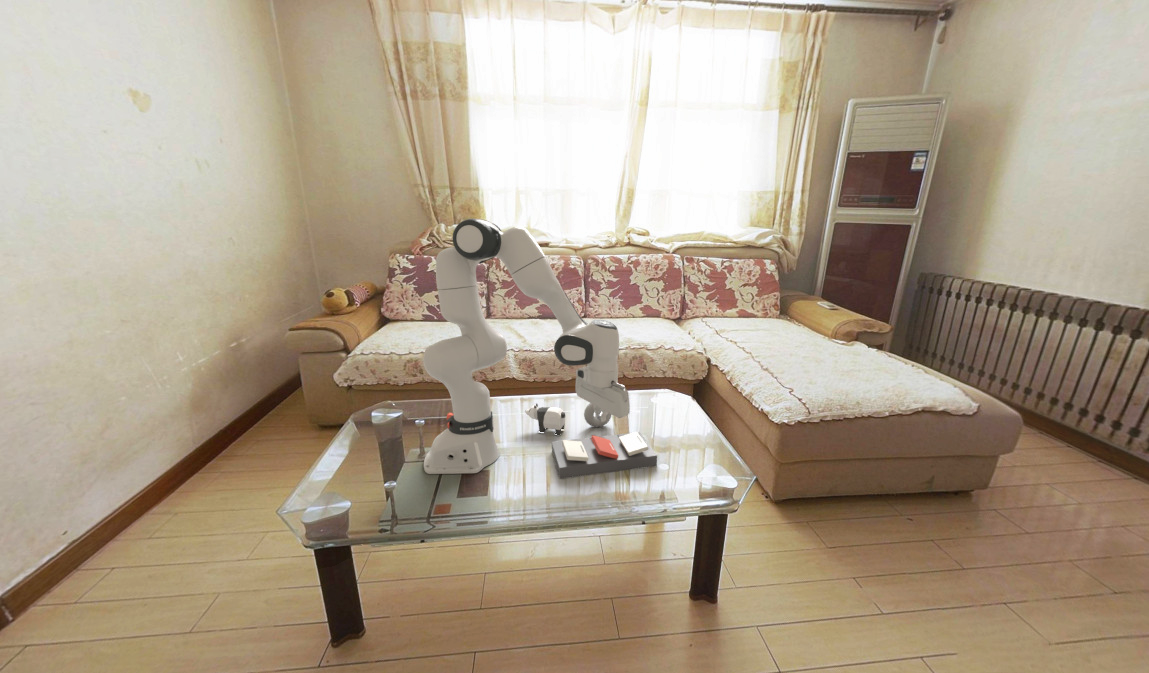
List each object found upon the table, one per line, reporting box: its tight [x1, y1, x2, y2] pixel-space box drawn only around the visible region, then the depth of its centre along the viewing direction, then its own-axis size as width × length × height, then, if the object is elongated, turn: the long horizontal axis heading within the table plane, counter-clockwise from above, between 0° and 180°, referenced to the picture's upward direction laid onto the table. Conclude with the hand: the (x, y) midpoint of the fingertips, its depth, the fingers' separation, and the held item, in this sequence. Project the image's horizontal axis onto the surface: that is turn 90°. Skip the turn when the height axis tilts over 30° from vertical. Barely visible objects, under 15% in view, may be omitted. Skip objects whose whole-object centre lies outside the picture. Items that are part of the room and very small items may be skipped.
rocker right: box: [619, 431, 648, 456], centre depth 127 cm, size 6×10×1 cm, turn 12°
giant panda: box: [524, 402, 566, 436], centre depth 145 cm, size 15×6×10 cm, turn 72°
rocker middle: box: [590, 434, 619, 459], centre depth 125 cm, size 6×10×1 cm, turn 11°
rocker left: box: [561, 439, 589, 461], centre depth 123 cm, size 6×10×1 cm, turn 11°
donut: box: [583, 402, 613, 428], centre depth 148 cm, size 10×4×10 cm, turn 101°
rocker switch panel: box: [551, 431, 658, 480], centre depth 128 cm, size 29×15×4 cm, turn 101°
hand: (600, 419), depth 124 cm, fingers closed
